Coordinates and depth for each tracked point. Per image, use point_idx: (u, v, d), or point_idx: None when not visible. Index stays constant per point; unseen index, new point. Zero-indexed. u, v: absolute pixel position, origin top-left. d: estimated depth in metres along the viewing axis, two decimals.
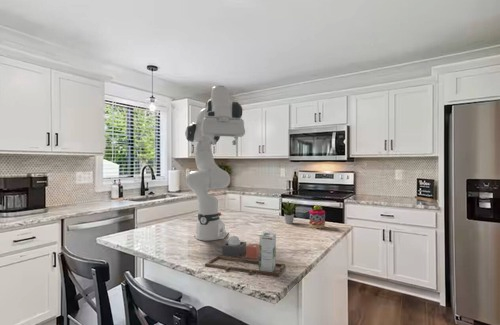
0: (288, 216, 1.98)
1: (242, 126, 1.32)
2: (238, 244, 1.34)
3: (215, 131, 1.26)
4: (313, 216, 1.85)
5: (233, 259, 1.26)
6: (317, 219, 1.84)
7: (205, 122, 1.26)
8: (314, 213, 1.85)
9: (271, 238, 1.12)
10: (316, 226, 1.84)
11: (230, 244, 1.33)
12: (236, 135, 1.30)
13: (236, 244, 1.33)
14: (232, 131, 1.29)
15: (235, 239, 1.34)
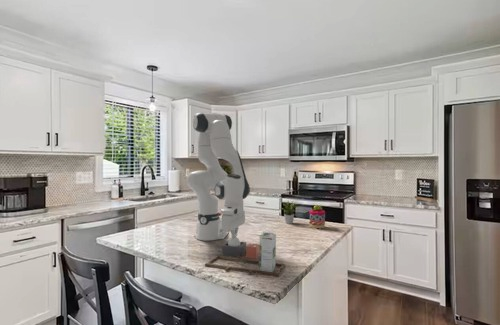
0: (288, 216, 1.98)
1: (244, 216, 1.43)
2: (238, 245, 1.34)
3: (234, 227, 1.31)
4: (313, 216, 1.85)
5: (233, 259, 1.26)
6: (317, 219, 1.84)
7: (231, 220, 1.27)
8: (314, 213, 1.85)
9: (271, 238, 1.12)
10: (316, 226, 1.84)
11: (230, 245, 1.33)
12: (237, 227, 1.37)
13: (236, 245, 1.33)
14: (240, 223, 1.38)
15: (235, 240, 1.34)
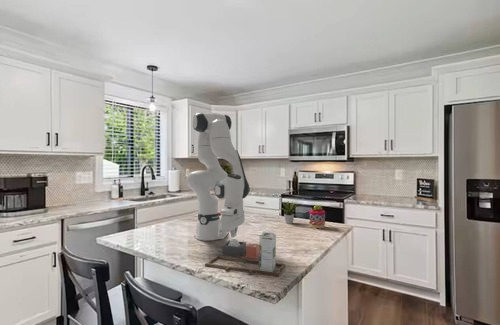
0: (288, 216, 1.98)
1: None
2: None
3: (233, 227, 1.32)
4: (313, 216, 1.85)
5: (233, 259, 1.26)
6: (317, 219, 1.84)
7: (230, 221, 1.27)
8: (314, 213, 1.85)
9: (271, 238, 1.12)
10: (316, 226, 1.84)
11: None
12: (237, 227, 1.38)
13: None
14: (240, 223, 1.39)
15: (235, 242, 1.34)
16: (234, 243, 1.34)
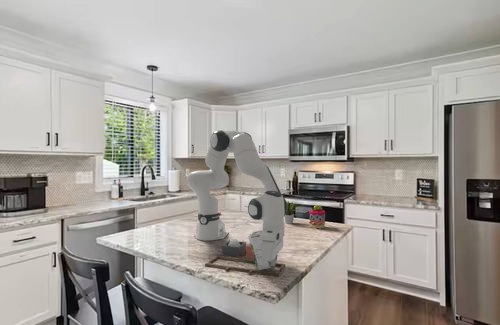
0: (288, 216, 1.98)
1: None
2: None
3: (275, 255, 1.10)
4: (313, 216, 1.85)
5: (233, 259, 1.26)
6: (317, 219, 1.84)
7: (273, 248, 1.06)
8: (314, 213, 1.85)
9: (259, 235, 1.14)
10: (316, 226, 1.84)
11: None
12: (277, 253, 1.16)
13: None
14: (280, 248, 1.18)
15: (235, 242, 1.34)
16: (234, 243, 1.34)
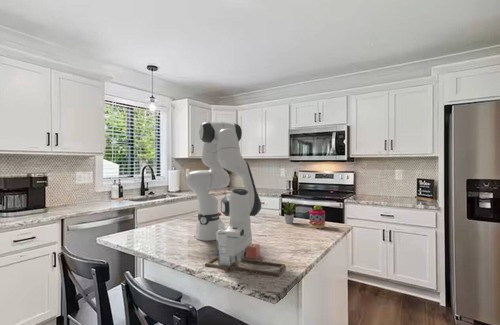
0: (288, 216, 1.98)
1: (251, 235, 1.27)
2: None
3: (240, 251, 1.15)
4: (313, 216, 1.85)
5: None
6: (317, 219, 1.84)
7: (237, 244, 1.11)
8: (314, 213, 1.85)
9: None
10: (316, 226, 1.84)
11: None
12: (244, 249, 1.21)
13: None
14: (247, 244, 1.22)
15: None
16: None
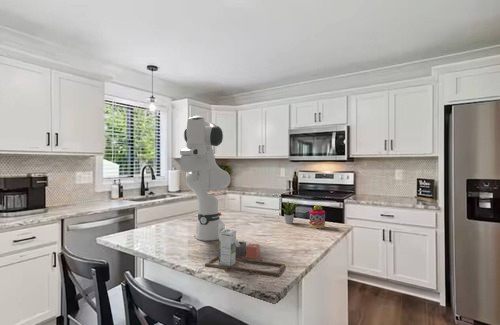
0: (288, 216, 1.98)
1: (208, 162, 1.39)
2: None
3: (194, 169, 1.27)
4: (313, 216, 1.85)
5: None
6: (317, 219, 1.84)
7: (190, 160, 1.23)
8: (314, 213, 1.85)
9: (229, 234, 1.18)
10: (316, 226, 1.84)
11: None
12: (200, 172, 1.33)
13: None
14: (203, 168, 1.34)
15: None
16: None
